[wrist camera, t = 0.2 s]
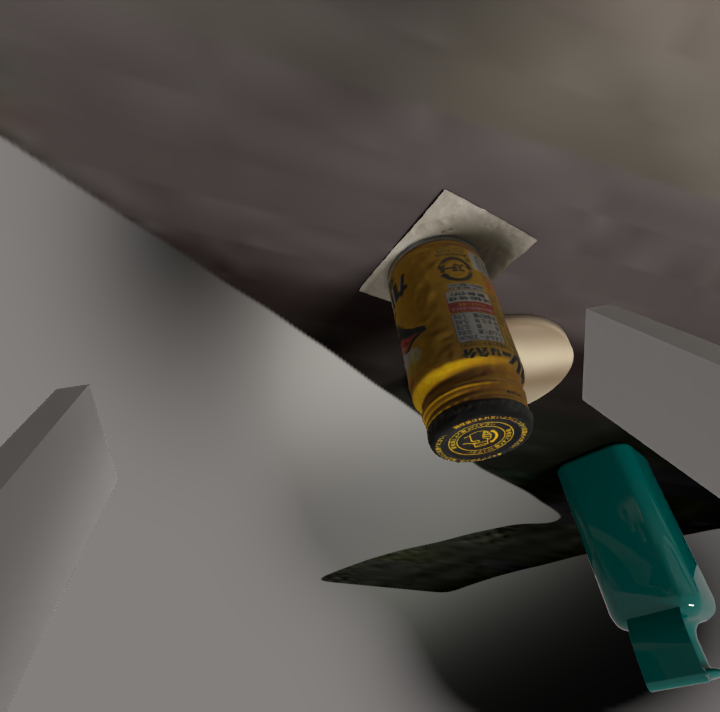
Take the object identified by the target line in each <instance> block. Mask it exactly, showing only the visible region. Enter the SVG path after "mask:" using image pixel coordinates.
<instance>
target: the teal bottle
mask: <svg viewBox="0 0 720 712" xmlns="http://www.w3.org/2000/svg"><path fill="white" fill-rule="evenodd" d="M557 473H558V477H559V480H560V483H561V486H562V488H563V491H564V494H565V496H566V499H567V502H568V504H569V507H570V510H571V512H572V515H573V518H574V520H575V523H576V526H577V529H578V531H579V534H580V537H581V539H582V542H583V545H584V547H585V550H586V553H587V555H588V558H589V561H590V563H591V566H592V569H593V572H594V574H595V577H596V580H597V582H598V585H599V588H600V590H601V593H602V596H603V598H604V601H605V604H606V607H607V609H608V612H609V614H610V616H611V618H612V620H613V621H614V623H615V624H616V625H617V626H618V627H619V628H621V629H623V630H625V631H629V634H630V638H631V642H632V645H633V648H634V651H635V654H636V657H637V660H638V663H639V666H640V668H641V671H642V674H643V677H644V680H645V683H646V685H647V688H648V689H649V691H650V692H656V691H662V690H667V689H673V688H679V687H685V686H690V685H696V684H702V683H708V682H711V680H714V679H718V678H720V668H711V667H710V665H709V663H708V661H707V659H706V656H705V654H704V652H703V650H702V648H701V645H700V643H699V641H698V638H697V635H696V628H697V625H698V624H699V623H702V622H705V621H707V620H708V619H710V618H711V617H712V616H713V615H714V613H715V610H716V607H715V601H714V598H713V595H712V593H711V591H710V589H709V587H708V585H707V583H706V581H705V579H704V577H703V575H702V573H701V571H700V569H699V567H698V565H697V563H696V561H695V559H694V557H693V554H692V552H691V550H690V548H689V546H688V544H687V542H686V540H685V538H684V536H683V534H682V532H681V530H680V528H679V526H678V524H677V522H676V520H675V518H674V516H673V514H672V512H671V509H670V507H669V505H668V503H667V501H666V499H665V497H664V495H663V493H662V491H661V489H660V487H659V485H658V483H657V481H656V479H655V477H654V475H653V473H652V471H651V469H650V467H649V465H648V462H647V460H646V458H644V457H643V456H642V455H641V454H640V453H638V452H637V451H636V450H635V449H633V448H632V447H631V446H630V445H628V444H625V443H615V444H611V445H607V446H605V447H602V448H600V449H597V450H595V451H593V452H590V453H588V454H585V455H583V456H581V457H578V458H576V459H573V460H571V461H568V462H566V463H564V464H563V465H561V466H560V468H559V469H558V472H557Z"/></svg>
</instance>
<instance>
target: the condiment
mask: <svg viewBox="0 0 720 712" xmlns="http://www.w3.org/2000/svg"><path fill="white" fill-rule="evenodd" d="M450 228H453V230H450V231H448V229H450ZM442 231H446V232H445V233H441V232H442ZM536 241H537V240H536V239H534V238H532V237H531V236H528V235H527V234H526V233H525V232H523V231H521V230H519V229H517V228H516V227H514V226H512V225H510V224H508V223H507V222H505V221H503V220H501V219H500V218H498V217H496V216H494V215H492V214H490V213H489V212H487V211H486V210H484V209H481V208H479V207H477V206H475V205H473V204H471V203H470V202H468V201H467V200H465V199H463V198H460V197H458V196H456V195H455V194H453V193H451V192H449V191H447V190H444V191H443V192H442V194H441V195H440V196H439V197H438V199H437V200H436V201H435V202H434V203H433V204H432V205H431V206H430V207H429V209H428V210H427V211H426V212H425V214H424V215H423V217H422V218H421V219H420V220H419V221H418V222H417V223H416V224H415V225H414V226H413V228H412V229H411V230H410V232H408V233H407V234H406V236H405V237H404V238H403V239H402V240H401V241H400V242H399V243H398V244H397V245H396V246H395V247H394V249H393V250H392V251H391V252H390V253H389V255H388V256H387V257H386V258H385V259H384V260H383V261H382V263H381V264H380V265H379V266H378V267H377V268H376V269H375V271H374V272H373V273H372V275H371V276H370V277H369V278H368V279H367V280H366V281H365V283H364V284H363V285H362V287H361V288H360V290H359V291H361V292H365V293H367V294H369V295H372V296H376V297H378V298H380V299H385V300H387V301H390V302H391V303H392V308H393V312H394V318H395V323H396V328H397V331H398V336H399V343H400V347H401V349H402V354H403V359H404V363H405V368H406V373H407V378H408V385H409V390H410V394H411V396H412V401H413V403H414V406H415V408H416V409H417V410H418V411H419V412H420V413H421V414H422V419H423V422H424V425H425V426H426V429H427V435H428V442H429V445H430V447H431V449H432V451H433V452H434V453H435V454H436V455H438V456H439V457H442V458H443V459H446V460H450V461H456V462H458V463H459V462H475V461H482V460H485V459H490V458H494V457H497V456H500V455H502V454H505V453H506V452H508V451H511V450H513V449H515V448H517V447H518V446H520V445H521V444H523V443H524V442H525V441H526V440H527V439H528V438H529V436H530V435H531V433H532V422H533V415H532V412H531V411H530V410H529V407H528V406H527V404H528V403H527V398H526V393H525V391H524V390H523V386H524V383H525V373H524V368H523V365H522V363H521V360H520V357H519V355H518V352H517V349H516V347H515V345H514V342H513V339H512V336H511V334H510V331H509V329H508V326H507V323H506V321H505V318H504V315H503V312H502V310H501V307H500V305H499V301H498V299H497V297H496V294H495V291H494V289H493V286H492V284H491V281H493V280H494V279H495V278H497V277H498V275H499V274H500V273H501V272H502V271H503V270H504V269H506V268H507V267H508V266H509V264H511V263H512V262H513V261H514V260H515V259H516V258H518V257H519V256H520V255H522V254H523V253H524V252H526V251H527V249H528V248H529V247H530V246H532V245H533V244H534V243H535V242H536ZM485 263H486V264H485ZM484 264H485V265H484Z"/></svg>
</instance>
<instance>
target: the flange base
mask: <svg viewBox="0 0 720 712" xmlns="http://www.w3.org/2000/svg"><path fill="white" fill-rule="evenodd" d="M504 318H505V321H506V323H507V326H508V329H509V331H510V334H511V336H512V339H513V342H514V345H515V347H516V349H517V352H518V355H519V357H520V360H521V363H522V365H523V368H524V373H525V383H524V386H523V390H524V391H525V393H526V398H527V403H528V404H529V403H531V402H533V401H535V400H537V399H538V398H540V397H542V396H543V395H545V394H546V393H548V392H549V391H551V390H552V389H553V388H554V387H555V386H557V385H558V384H559V383H560V382H561V381H562V380H563V378H564V377H565V376H566V374H567V373H568V371H569V370H570V368H571V365H572V362H573V349H572V347H571V345H570V342H569V340H568V338H567V336H566V334H565V332H564V331H563V329H562V328H561V327H560V326H559V325H558V324H556V323H555V322H553V321H551V320H549V319H546V318H544V317H540V316H535V315H527V314H511V315H504Z"/></svg>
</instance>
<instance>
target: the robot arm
mask: <svg viewBox="0 0 720 712" xmlns="http://www.w3.org/2000/svg"><path fill="white" fill-rule="evenodd" d="M582 400H584V401H585V402H587V403H588V404H589V405H591V406H592V407H594V408H595V409H596V410H598V411H599V412H601V413H602V414H603V415H605V416H606V417H608V418H609V419H610V420H612V421H613V422H614V423H616V424H617V425H619V426H620V427H621V428H623V429H624V430H626V431H627V432H628V433H630V434H631V435H633V436H634V437H635V438H637V439H638V440H640V441H641V442H642V443H644V444H645V445H646V446H648V447H649V448H651V449H652V450H653V451H655V452H656V453H658V454H659V455H660V456H662V457H663V458H665V459H666V460H667V461H669V462H670V463H672V464H673V465H674V466H676V467H677V468H678V469H680V470H681V471H683V472H684V473H685V474H687V475H688V476H690V477H691V478H692V479H694V480H695V481H697V482H698V483H699V484H701V485H702V486H704V487H705V488H706V489H708V490H709V491H710V492H712V493H713V494H715V495H716V496H717V497H719V498H720V346H719V345H716V344H714V343H711V342H708V341H706V340H703V339H701V338H698V337H695V336H693V335H690V334H687V333H685V332H682V331H680V330H677V329H674V328H672V327H669V326H667V325H664V324H661V323H659V322H656V321H654V320H651V319H648V318H646V317H643V316H640V315H638V314H635V313H633V312H630V311H627V310H625V309H622V308H620V307H617V306H614V305H606V306H599V307H593V308H586V325H585V349H584V373H583V396H582ZM117 481H118V478H117V475H116V472H115V468H114V465H113V462H112V458H111V455H110V452H109V448H108V445H107V442H106V438H105V436H104V432H103V428H102V425H101V422H100V419H99V415H98V412H97V409H96V405H95V402H94V399H93V395H92V392H91V389H90V385H89V384H87V385H81V386H74V387H68V388H61V389H56V390H55V391H54V392H53V393H52V394H51V395H50V396H49V397H48V398H47V399H46V401H45V402H44V403H43V404H42V405H41V406H40V407H39V408H38V409H37V410H36V411H35V412H34V413H33V414H32V415H31V416H30V417H29V418H28V419H27V420H26V421H25V422H24V423H23V424H22V425H21V426H20V427H19V428H18V429H17V430H16V432H14V434H13V435H12V436H11V437H10V438H9V439H8V440H7V441H6V442H5V443H4V444H3V445H2V446H1V447H0V712H7V709H8V707H9V705H10V703H11V701H12V699H13V697H14V695H15V693H16V691H17V689H18V687H19V685H20V683H21V680H22V678H23V676H24V674H25V672H26V670H27V668H28V666H29V664H30V661H31V660H32V658H33V655H34V653H35V651H36V649H37V647H38V645H39V643H40V641H41V639H42V637H43V635H44V633H45V631H46V629H47V627H48V625H49V622H50V620H51V618H52V616H53V614H54V612H55V610H56V608H57V605H58V604H59V602H60V600H61V598H62V595H63V593H64V591H65V589H66V587H67V585H68V583H69V581H70V579H71V577H72V575H73V572H74V570H75V569H76V566H77V564H78V562H79V560H80V558H81V556H82V554H83V552H84V550H85V548H86V546H87V544H88V542H89V539H90V537H91V535H92V533H93V531H94V529H95V527H96V525H97V523H98V521H99V518H100V517H101V515H102V513H103V511H104V508H105V506H106V504H107V502H108V500H109V498H110V496H111V494H112V492H113V489H114V487H115V486H116V483H117Z"/></svg>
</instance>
